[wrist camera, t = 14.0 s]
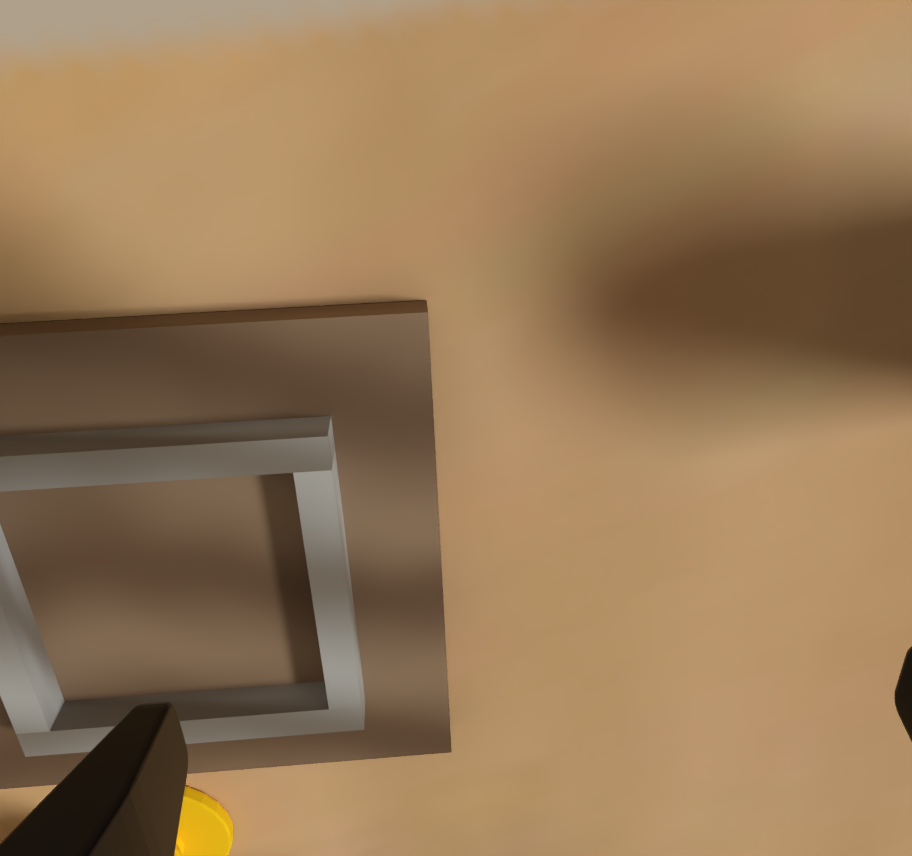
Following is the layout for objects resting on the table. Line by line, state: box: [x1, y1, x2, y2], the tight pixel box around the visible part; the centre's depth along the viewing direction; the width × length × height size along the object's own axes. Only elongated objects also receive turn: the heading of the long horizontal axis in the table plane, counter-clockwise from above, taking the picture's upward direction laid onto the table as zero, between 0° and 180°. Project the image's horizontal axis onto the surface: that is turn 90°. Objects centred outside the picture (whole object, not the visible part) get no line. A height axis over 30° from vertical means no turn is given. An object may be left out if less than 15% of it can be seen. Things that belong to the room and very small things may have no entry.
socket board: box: [0, 300, 451, 789], centre depth 23 cm, size 16×16×2 cm
